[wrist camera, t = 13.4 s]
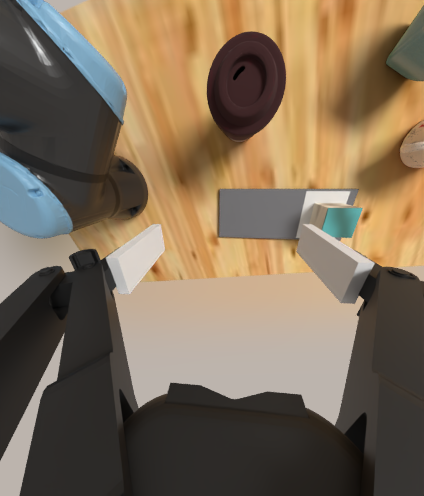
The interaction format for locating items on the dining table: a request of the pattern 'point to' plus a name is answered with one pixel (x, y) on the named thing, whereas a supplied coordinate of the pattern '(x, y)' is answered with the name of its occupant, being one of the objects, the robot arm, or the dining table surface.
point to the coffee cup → (246, 85)
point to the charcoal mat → (273, 210)
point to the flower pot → (410, 51)
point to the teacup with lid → (413, 147)
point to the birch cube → (335, 218)
